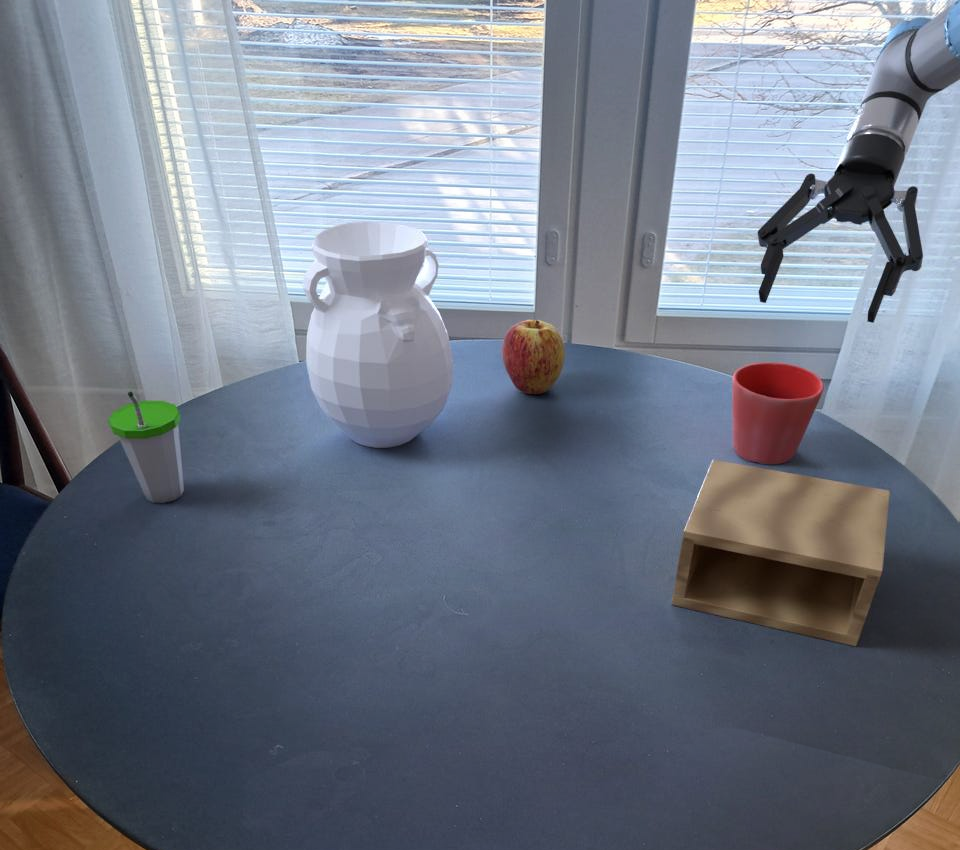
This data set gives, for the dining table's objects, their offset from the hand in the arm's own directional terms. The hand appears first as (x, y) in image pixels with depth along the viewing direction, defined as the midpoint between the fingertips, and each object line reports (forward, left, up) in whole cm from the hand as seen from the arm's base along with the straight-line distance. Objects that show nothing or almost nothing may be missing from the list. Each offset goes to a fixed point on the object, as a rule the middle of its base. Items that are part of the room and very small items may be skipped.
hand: (815, 307), depth 113 cm
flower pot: (+2, +10, -16) cm, 19 cm away
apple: (+36, +3, -16) cm, 39 cm away
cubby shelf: (-3, +39, -15) cm, 42 cm away
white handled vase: (+50, +23, -16) cm, 57 cm away
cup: (+68, +47, -16) cm, 84 cm away
